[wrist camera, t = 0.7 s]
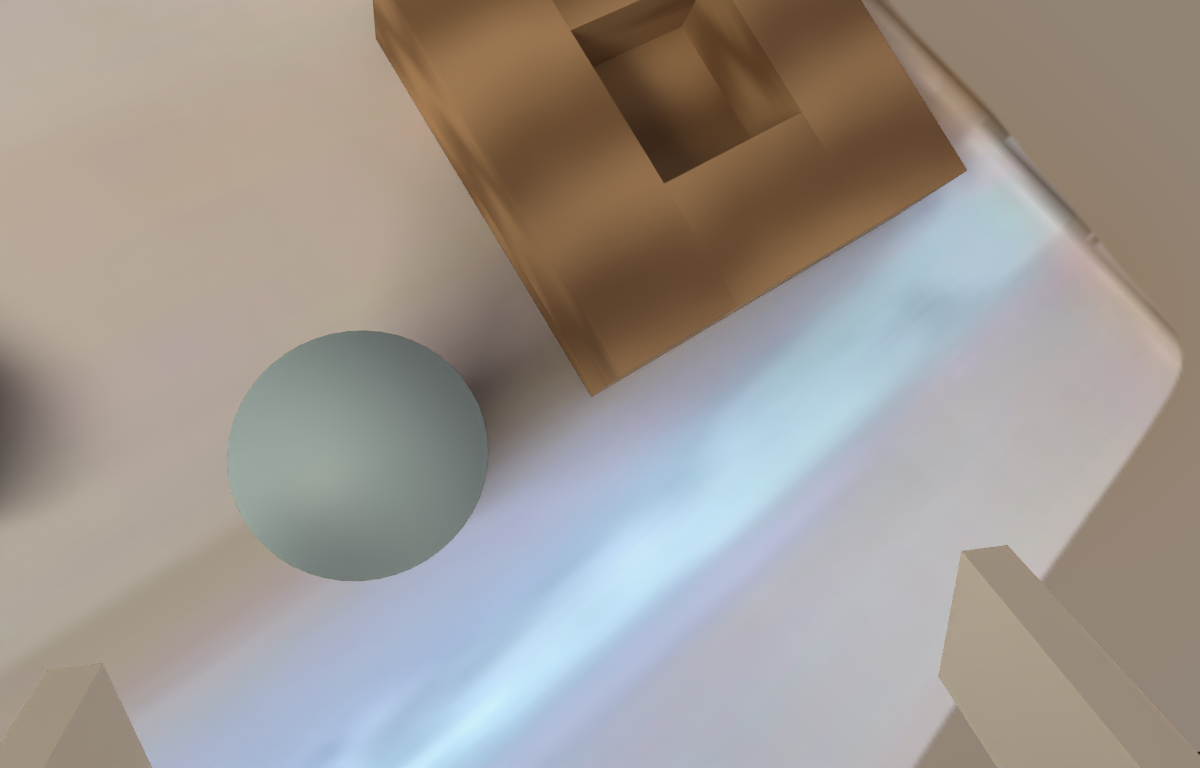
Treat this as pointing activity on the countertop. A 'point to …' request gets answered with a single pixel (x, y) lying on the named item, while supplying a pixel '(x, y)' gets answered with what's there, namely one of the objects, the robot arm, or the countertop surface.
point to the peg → (357, 455)
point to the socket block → (665, 150)
